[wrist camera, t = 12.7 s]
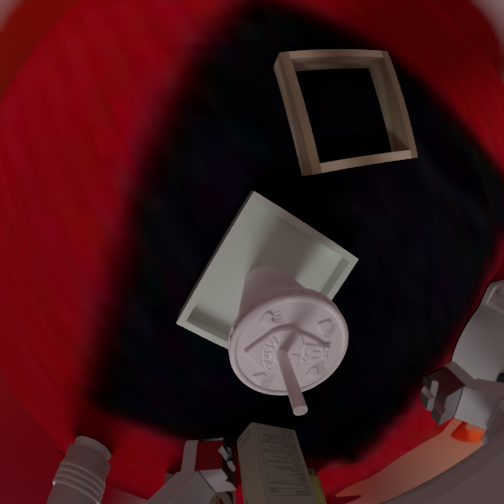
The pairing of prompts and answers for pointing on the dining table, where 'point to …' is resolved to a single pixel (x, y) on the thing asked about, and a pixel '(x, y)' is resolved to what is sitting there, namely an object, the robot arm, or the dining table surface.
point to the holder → (385, 90)
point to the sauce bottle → (317, 486)
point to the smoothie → (285, 336)
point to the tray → (256, 254)
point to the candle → (81, 473)
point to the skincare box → (273, 467)
